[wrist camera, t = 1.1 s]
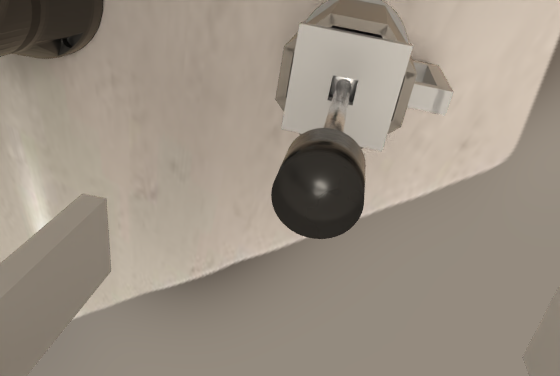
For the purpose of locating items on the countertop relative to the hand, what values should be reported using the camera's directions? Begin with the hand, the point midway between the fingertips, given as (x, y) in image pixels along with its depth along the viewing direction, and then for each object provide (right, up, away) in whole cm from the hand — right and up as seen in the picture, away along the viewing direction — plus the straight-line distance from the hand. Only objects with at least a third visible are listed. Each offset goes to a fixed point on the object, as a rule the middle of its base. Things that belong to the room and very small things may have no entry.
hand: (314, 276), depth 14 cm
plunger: (+4, +11, +24) cm, 27 cm away
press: (+8, +17, +36) cm, 41 cm away
